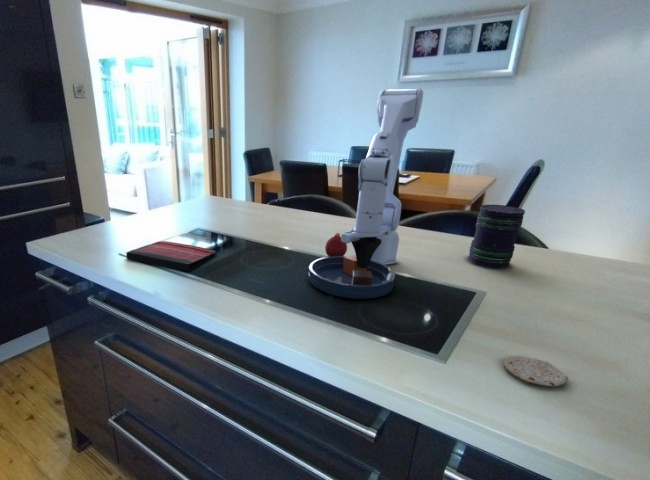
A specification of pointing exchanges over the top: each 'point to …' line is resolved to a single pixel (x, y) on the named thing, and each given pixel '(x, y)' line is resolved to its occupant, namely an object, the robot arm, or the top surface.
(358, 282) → the walnut block
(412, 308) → the top surface
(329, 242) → the onion
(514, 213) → the storage jar
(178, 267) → the binder
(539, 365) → the flatbread
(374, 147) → the robot arm
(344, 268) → the terracotta block
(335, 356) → the top surface
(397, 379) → the top surface
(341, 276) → the bowl
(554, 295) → the top surface
